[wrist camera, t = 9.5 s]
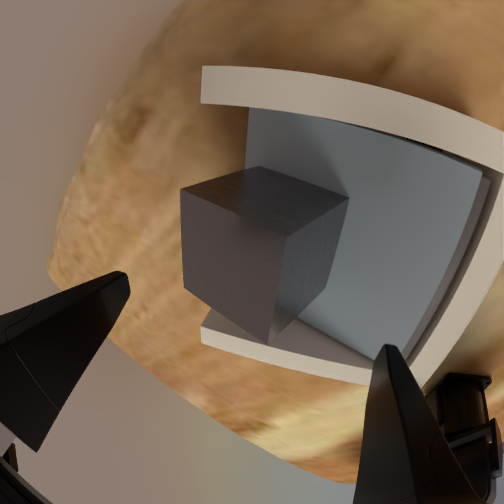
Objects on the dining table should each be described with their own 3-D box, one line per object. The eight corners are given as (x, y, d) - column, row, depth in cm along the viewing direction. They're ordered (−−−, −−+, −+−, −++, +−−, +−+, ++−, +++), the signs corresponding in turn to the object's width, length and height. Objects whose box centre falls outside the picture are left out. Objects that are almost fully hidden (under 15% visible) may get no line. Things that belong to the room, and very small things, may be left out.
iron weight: (349, 197, 12) (286, 237, 9) (325, 288, 15) (266, 345, 12) (259, 165, 15) (180, 189, 12) (250, 248, 18) (184, 287, 14)
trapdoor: (491, 174, 9) (493, 177, 8) (403, 361, 15) (397, 373, 14) (262, 104, 14) (249, 104, 14) (246, 275, 20) (236, 281, 20)
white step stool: (473, 123, 13) (542, 153, 7) (408, 308, 21) (416, 393, 15) (260, 72, 16) (202, 65, 9) (243, 269, 24) (201, 342, 17)
